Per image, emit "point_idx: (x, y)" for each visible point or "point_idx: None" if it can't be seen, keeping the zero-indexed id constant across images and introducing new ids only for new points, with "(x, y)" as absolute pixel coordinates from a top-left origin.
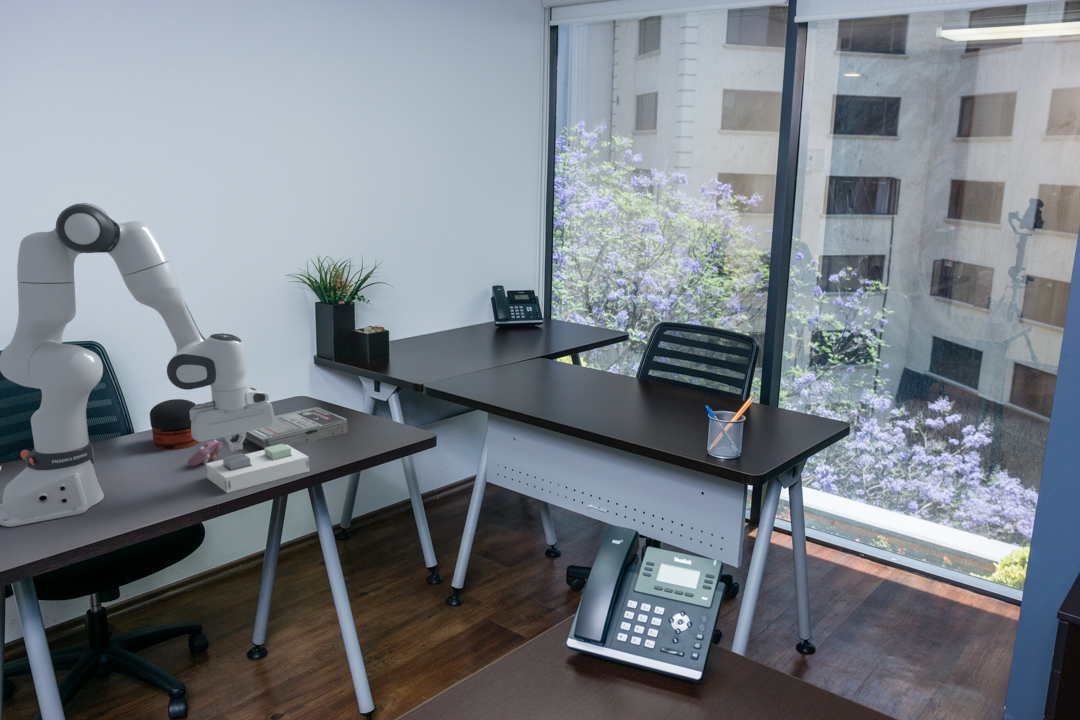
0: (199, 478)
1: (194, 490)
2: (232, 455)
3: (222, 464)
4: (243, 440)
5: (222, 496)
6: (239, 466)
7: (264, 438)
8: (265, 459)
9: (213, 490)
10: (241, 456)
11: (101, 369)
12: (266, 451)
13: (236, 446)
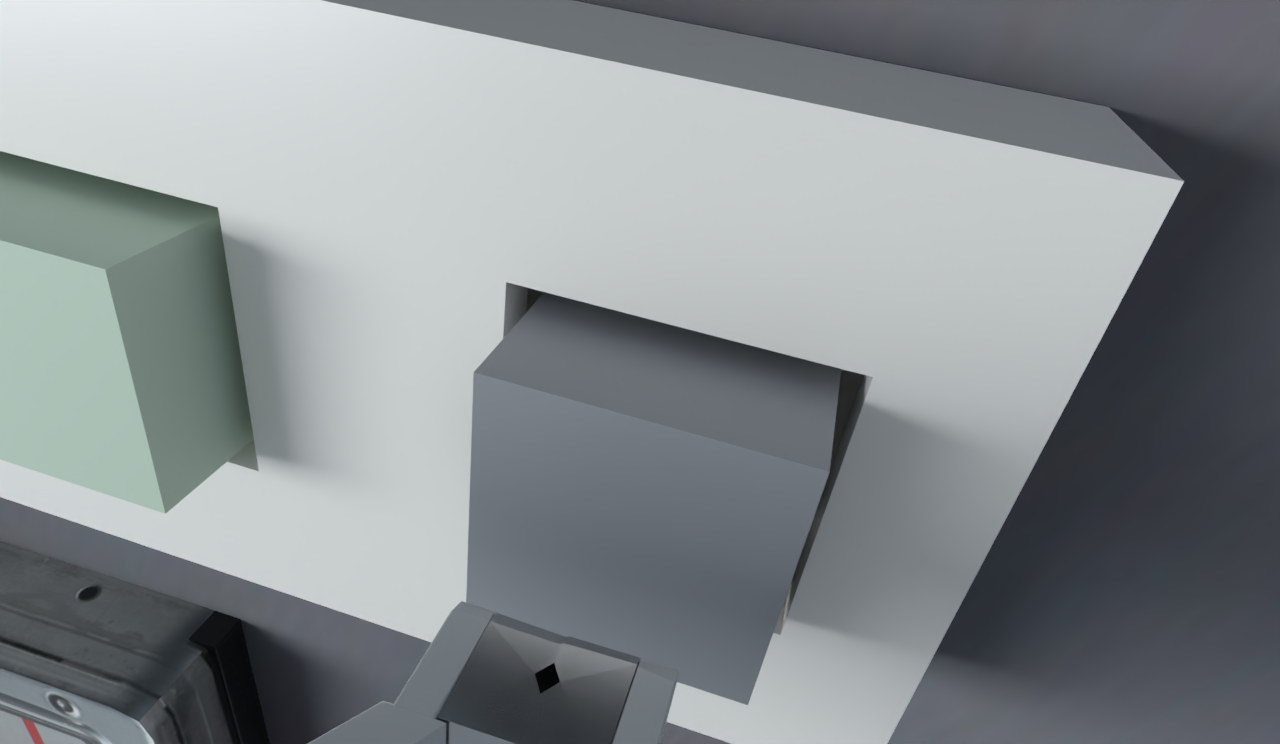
0: None
1: (1226, 524)
2: None
3: None
4: (336, 736)
5: (1260, 44)
6: (693, 373)
7: (133, 731)
8: (279, 327)
9: (1113, 345)
10: (536, 531)
11: None
12: (182, 441)
13: (548, 703)
